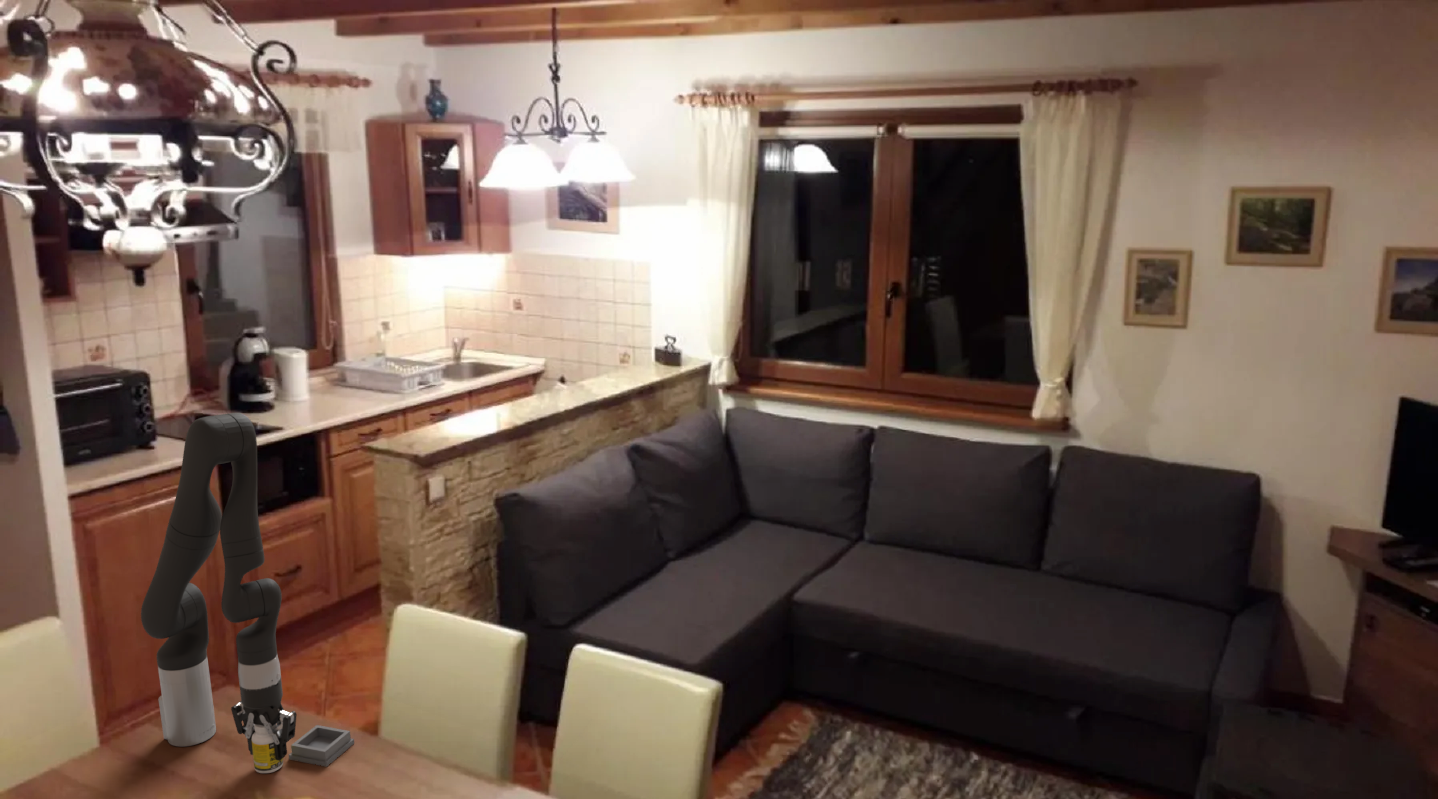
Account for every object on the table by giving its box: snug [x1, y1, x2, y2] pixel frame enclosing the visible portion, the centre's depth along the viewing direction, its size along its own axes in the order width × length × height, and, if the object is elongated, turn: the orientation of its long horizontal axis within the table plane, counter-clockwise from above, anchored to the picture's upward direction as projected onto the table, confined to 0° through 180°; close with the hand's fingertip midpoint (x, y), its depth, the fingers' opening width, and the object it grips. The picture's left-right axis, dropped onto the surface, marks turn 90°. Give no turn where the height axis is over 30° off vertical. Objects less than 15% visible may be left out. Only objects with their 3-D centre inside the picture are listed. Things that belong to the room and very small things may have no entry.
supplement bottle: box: [252, 723, 284, 774], centre depth 213 cm, size 5×5×10 cm
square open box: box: [288, 724, 355, 768], centre depth 219 cm, size 9×9×3 cm
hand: (268, 755), depth 213 cm, fingers closed on supplement bottle, 5 cm apart
